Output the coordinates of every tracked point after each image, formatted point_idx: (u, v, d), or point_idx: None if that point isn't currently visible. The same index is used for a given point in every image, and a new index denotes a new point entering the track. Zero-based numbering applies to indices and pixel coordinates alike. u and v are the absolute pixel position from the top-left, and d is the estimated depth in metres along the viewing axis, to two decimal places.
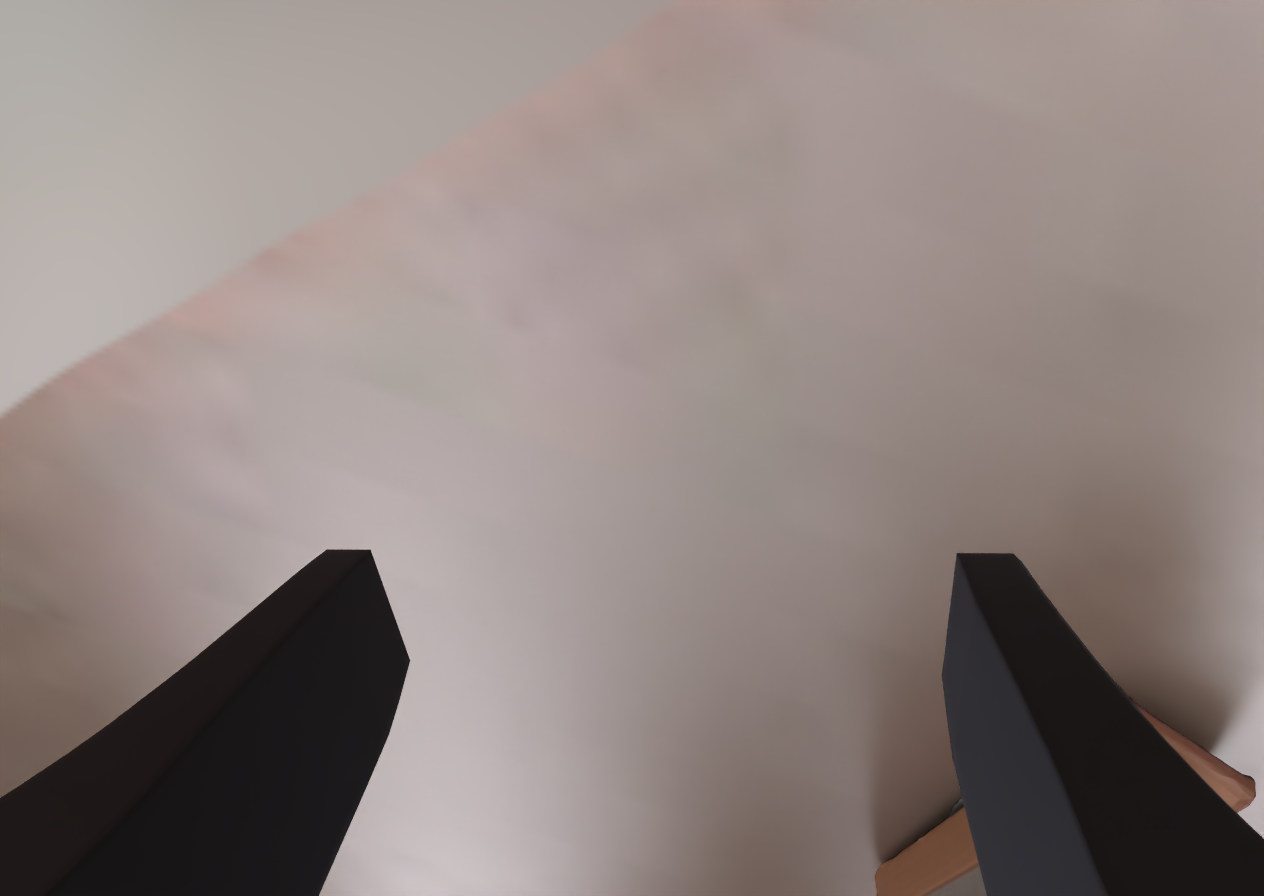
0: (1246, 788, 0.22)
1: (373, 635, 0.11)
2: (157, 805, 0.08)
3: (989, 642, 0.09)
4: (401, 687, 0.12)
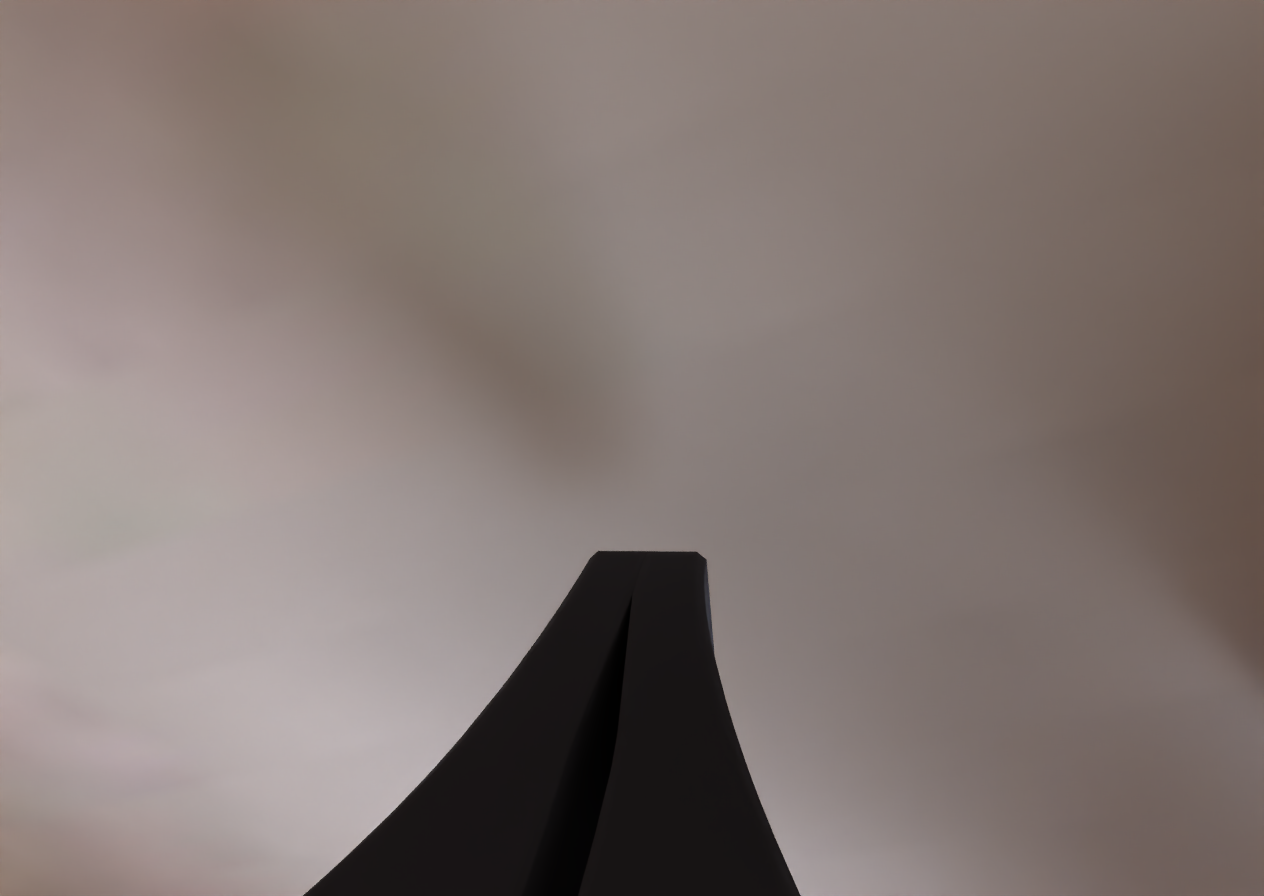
0: None
1: None
2: (553, 830, 0.07)
3: (631, 633, 0.09)
4: None
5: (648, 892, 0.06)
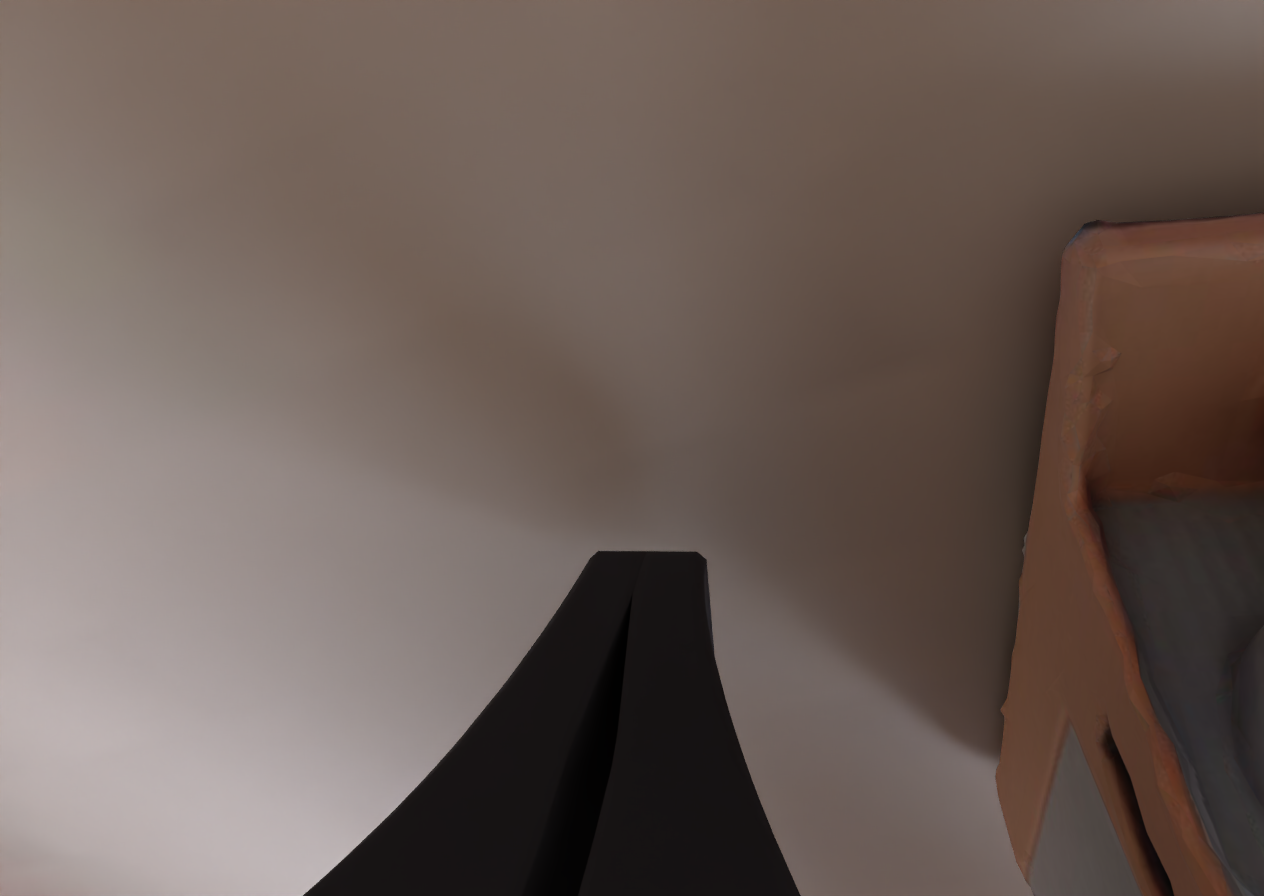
0: None
1: None
2: (553, 829, 0.07)
3: (631, 634, 0.09)
4: None
5: (648, 892, 0.06)
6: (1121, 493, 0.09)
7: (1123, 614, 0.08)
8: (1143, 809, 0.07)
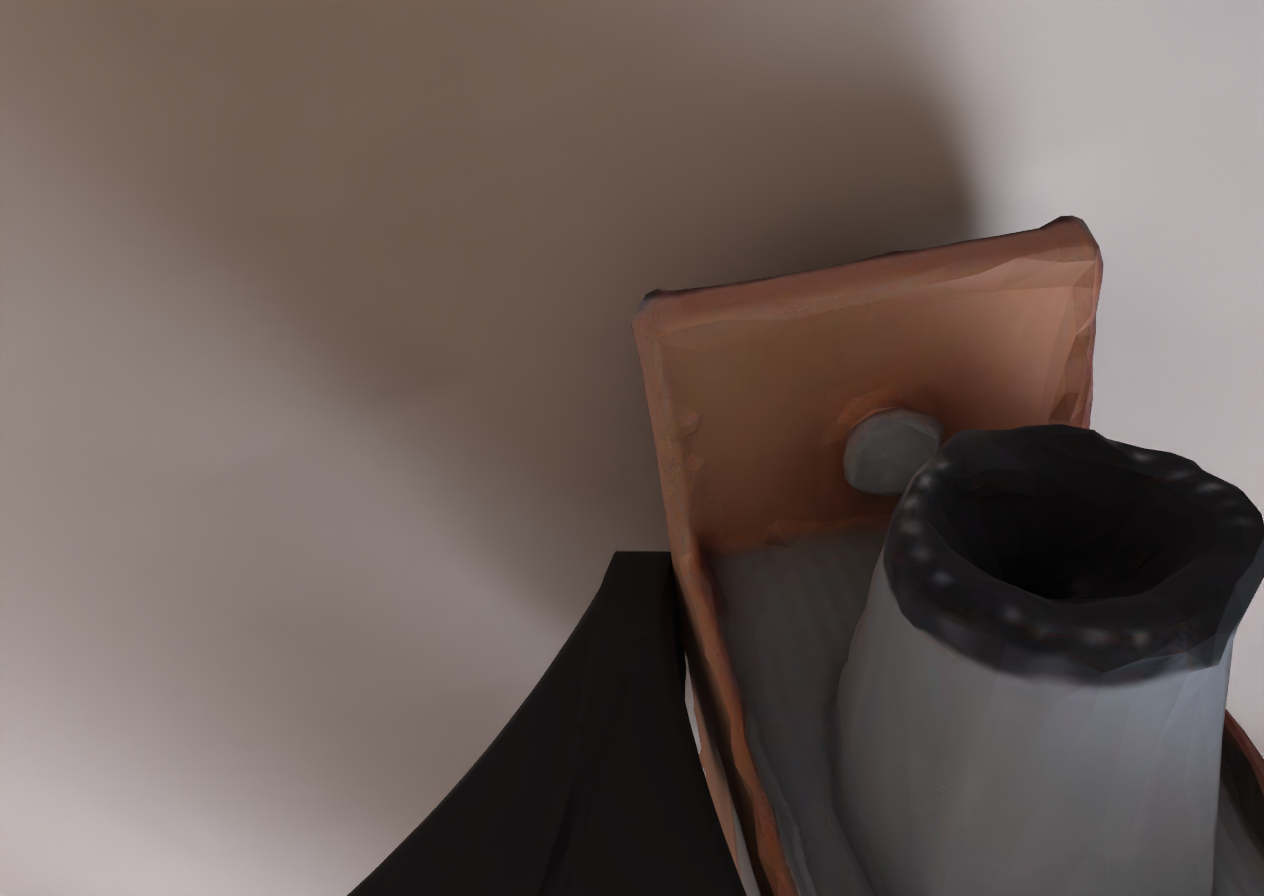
0: (1065, 252, 0.08)
1: None
2: None
3: (595, 632, 0.09)
4: (683, 697, 0.11)
5: (594, 888, 0.06)
6: (737, 546, 0.09)
7: (729, 675, 0.08)
8: (763, 874, 0.07)
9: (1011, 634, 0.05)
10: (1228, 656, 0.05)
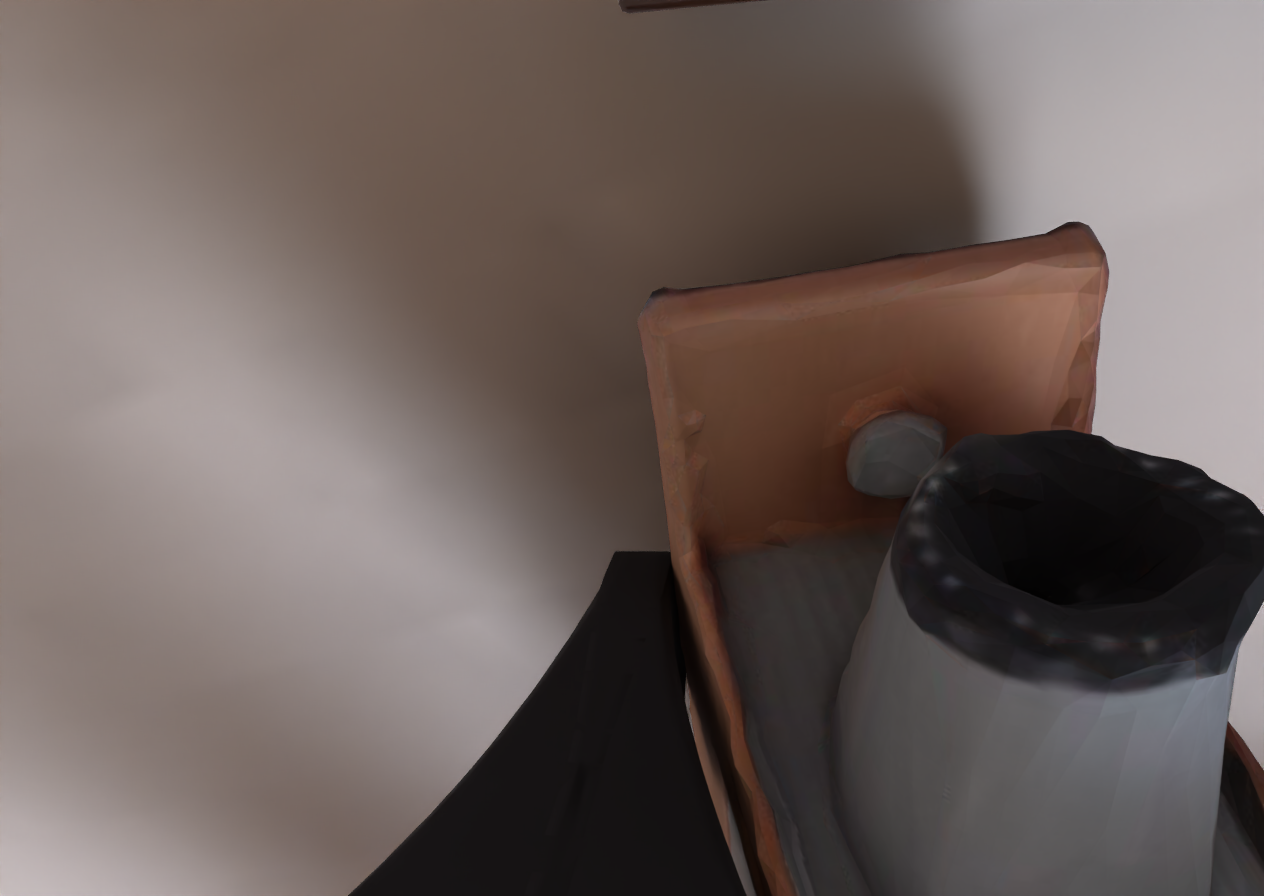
0: (1071, 258, 0.08)
1: (675, 642, 0.11)
2: None
3: (594, 633, 0.09)
4: (684, 697, 0.11)
5: (594, 888, 0.06)
6: (738, 546, 0.09)
7: (731, 675, 0.08)
8: (760, 875, 0.07)
9: (1020, 639, 0.05)
10: (1233, 664, 0.05)
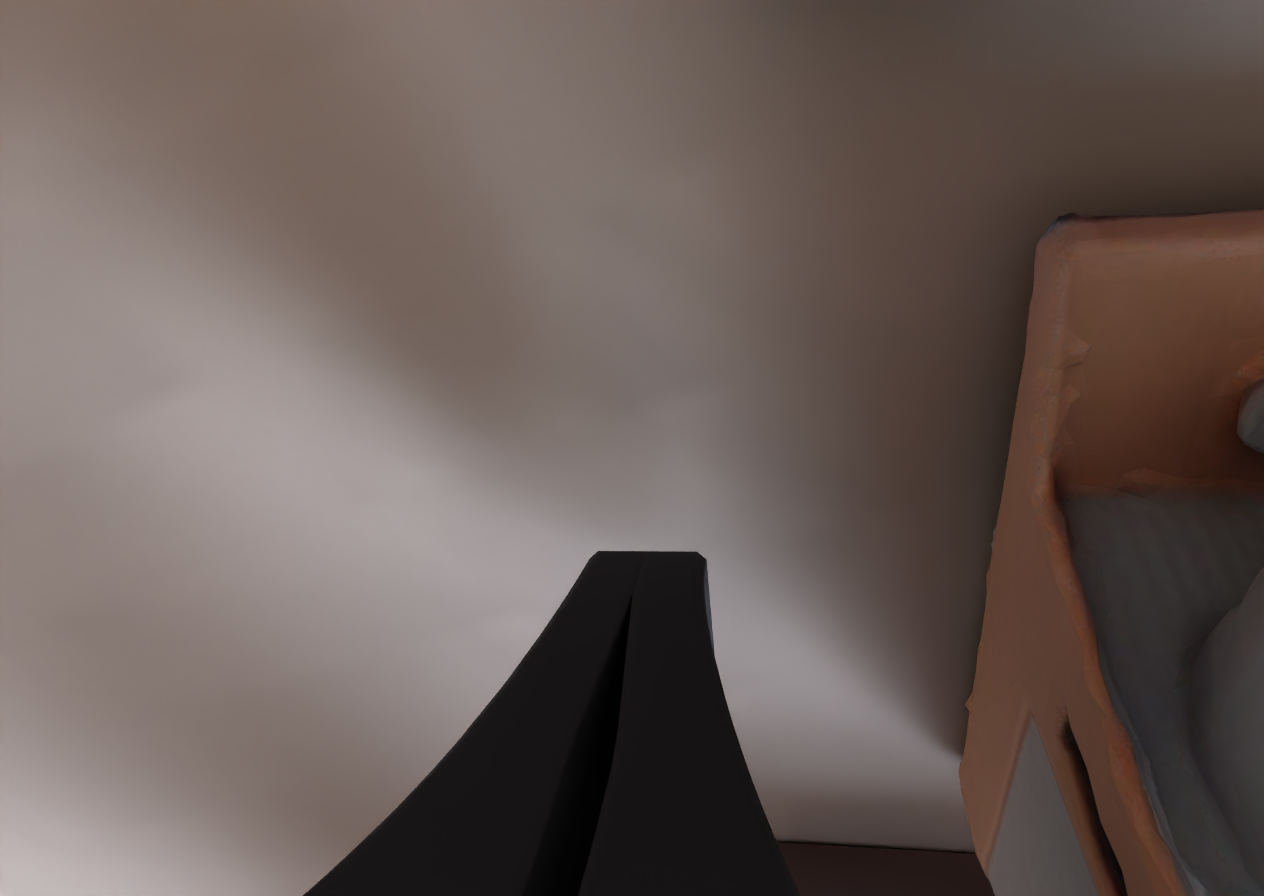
0: None
1: None
2: (553, 829, 0.07)
3: (631, 634, 0.09)
4: None
5: (648, 891, 0.06)
6: (1088, 488, 0.09)
7: (1084, 605, 0.08)
8: (1098, 799, 0.08)
9: None
10: None
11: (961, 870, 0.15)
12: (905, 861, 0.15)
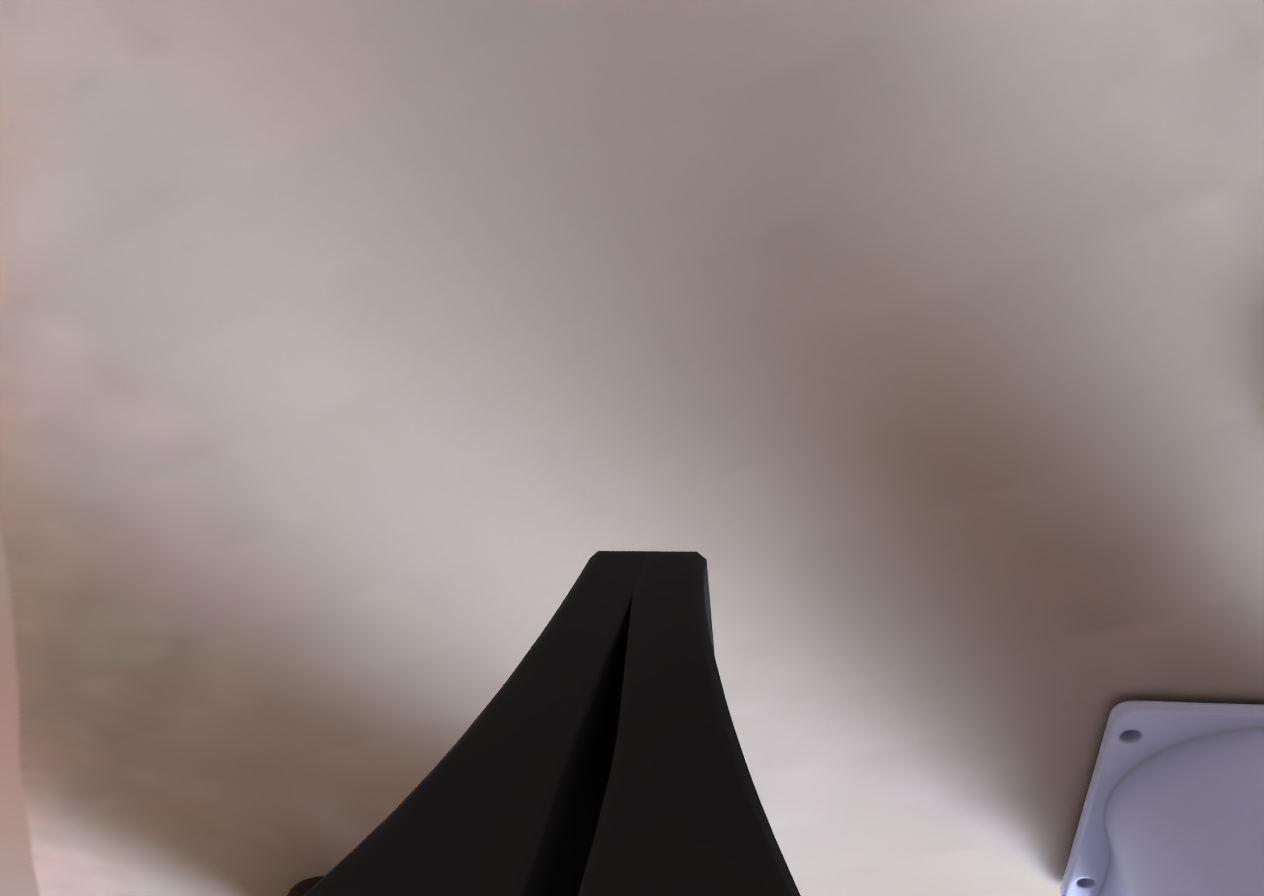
0: None
1: None
2: (553, 830, 0.07)
3: (631, 634, 0.09)
4: None
5: (648, 892, 0.06)
6: None
7: None
8: None
9: None
10: None
11: None
12: None
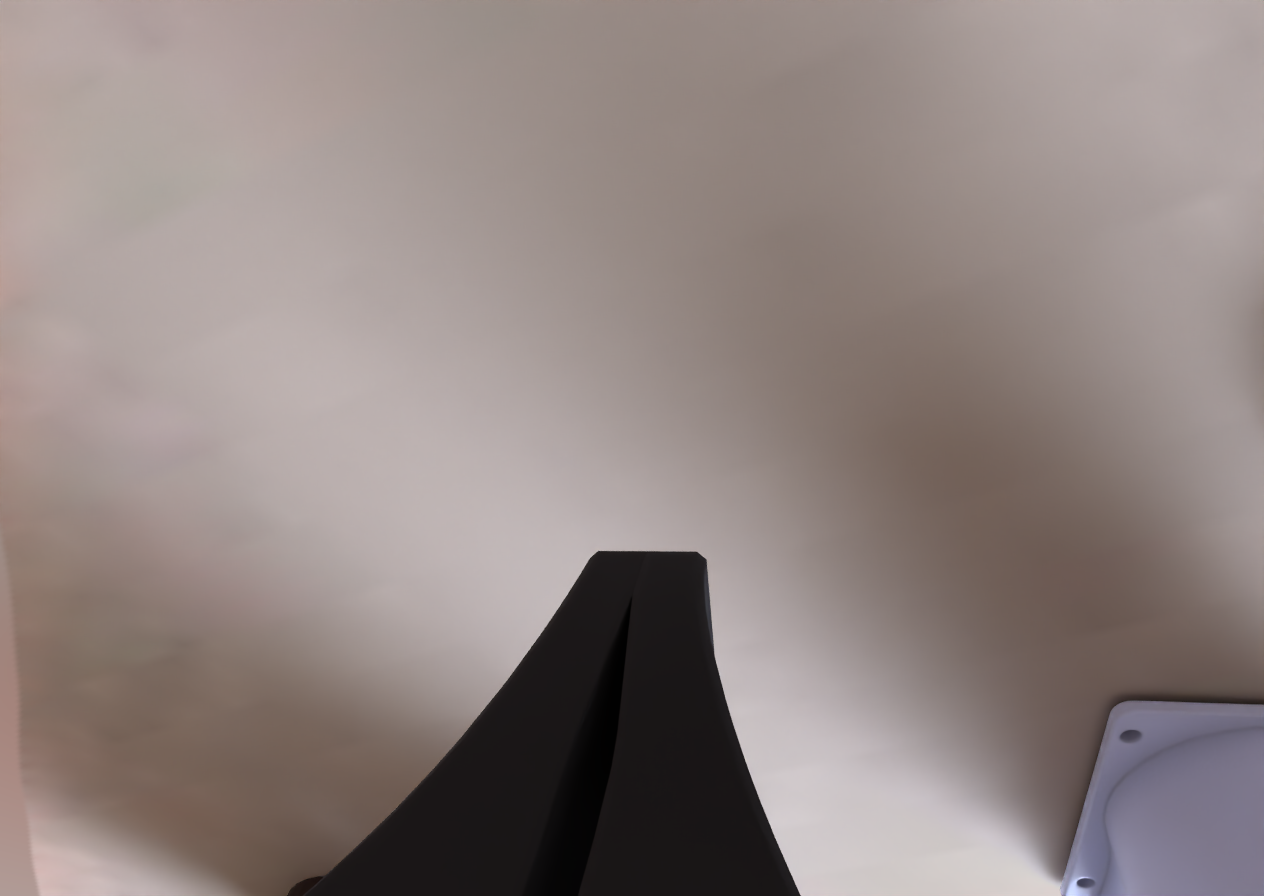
0: None
1: None
2: (553, 830, 0.07)
3: (631, 634, 0.09)
4: None
5: (648, 892, 0.06)
6: None
7: None
8: None
9: None
10: None
11: None
12: None
